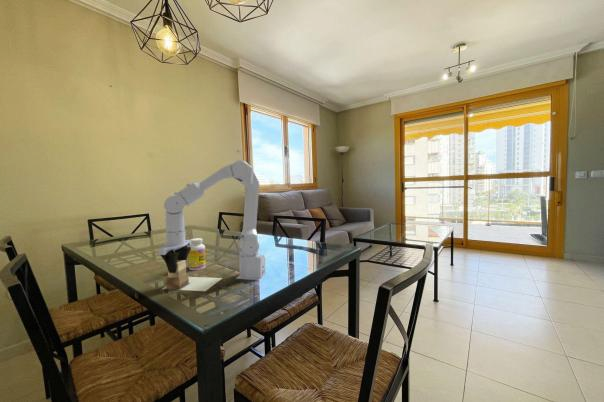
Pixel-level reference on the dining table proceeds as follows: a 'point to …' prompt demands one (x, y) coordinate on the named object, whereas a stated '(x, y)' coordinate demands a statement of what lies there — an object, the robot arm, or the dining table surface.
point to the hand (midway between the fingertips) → (177, 270)
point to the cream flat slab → (199, 283)
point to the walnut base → (177, 282)
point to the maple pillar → (179, 270)
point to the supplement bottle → (197, 254)
